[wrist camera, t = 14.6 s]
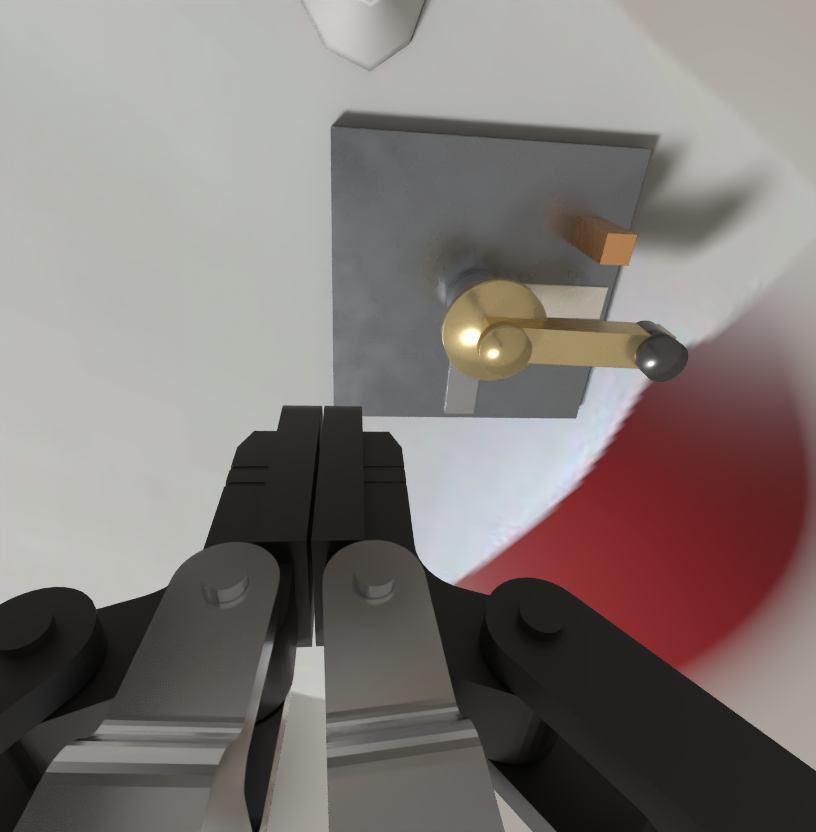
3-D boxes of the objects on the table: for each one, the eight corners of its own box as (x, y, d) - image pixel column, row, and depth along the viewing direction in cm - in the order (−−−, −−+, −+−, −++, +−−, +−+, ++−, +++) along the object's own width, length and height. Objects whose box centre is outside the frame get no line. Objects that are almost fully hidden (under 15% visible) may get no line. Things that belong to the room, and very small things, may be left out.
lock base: (331, 126, 34) (326, 132, 28) (643, 148, 37) (699, 158, 31) (334, 408, 46) (331, 455, 40) (571, 411, 48) (601, 456, 42)
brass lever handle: (435, 371, 36) (443, 400, 33) (448, 273, 33) (459, 295, 29) (638, 381, 38) (666, 409, 35) (673, 289, 35) (708, 311, 31)
